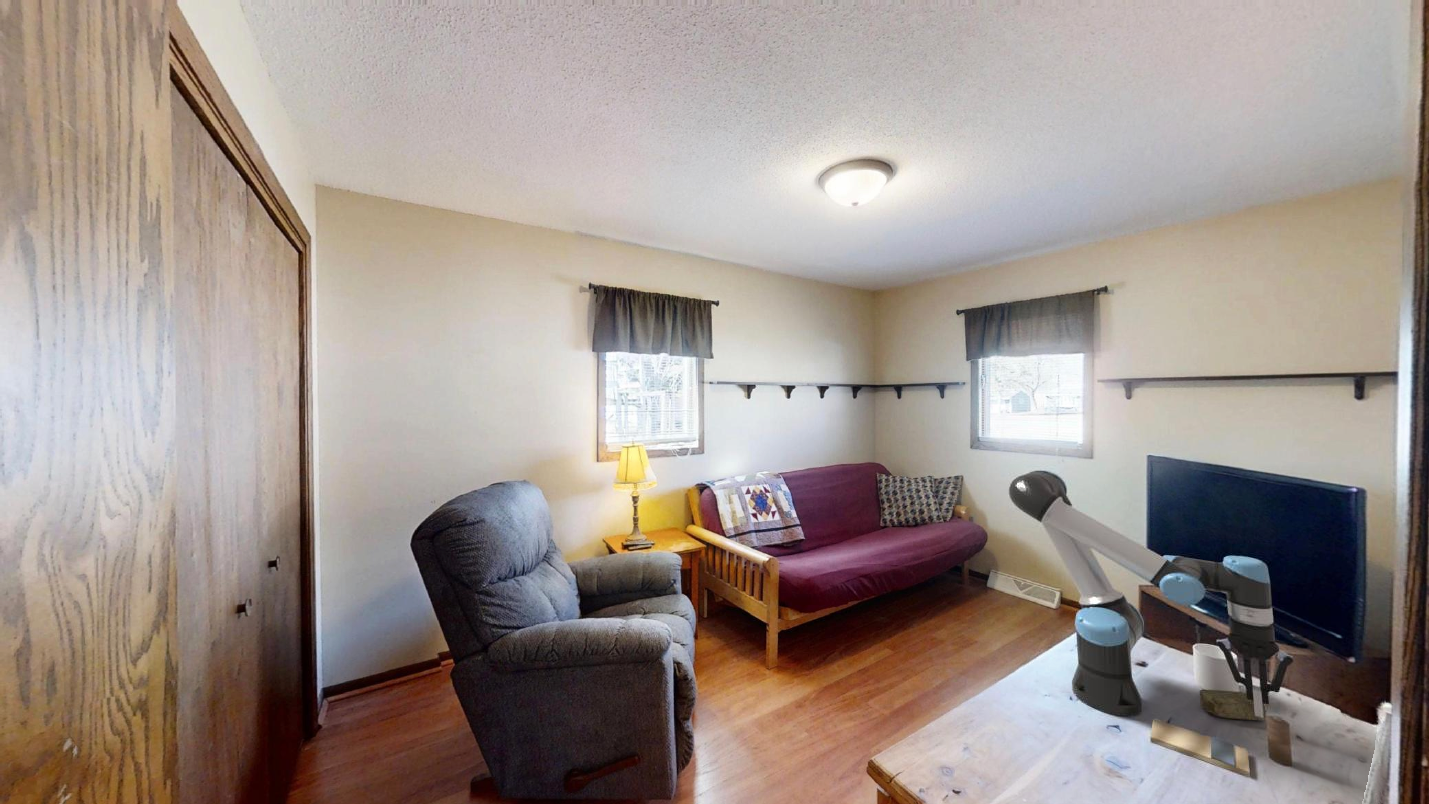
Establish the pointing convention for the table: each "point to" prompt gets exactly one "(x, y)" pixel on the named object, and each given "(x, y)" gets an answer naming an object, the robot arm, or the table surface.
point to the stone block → (1229, 704)
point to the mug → (1213, 668)
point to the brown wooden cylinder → (1279, 740)
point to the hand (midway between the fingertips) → (1258, 714)
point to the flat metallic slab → (1201, 747)
